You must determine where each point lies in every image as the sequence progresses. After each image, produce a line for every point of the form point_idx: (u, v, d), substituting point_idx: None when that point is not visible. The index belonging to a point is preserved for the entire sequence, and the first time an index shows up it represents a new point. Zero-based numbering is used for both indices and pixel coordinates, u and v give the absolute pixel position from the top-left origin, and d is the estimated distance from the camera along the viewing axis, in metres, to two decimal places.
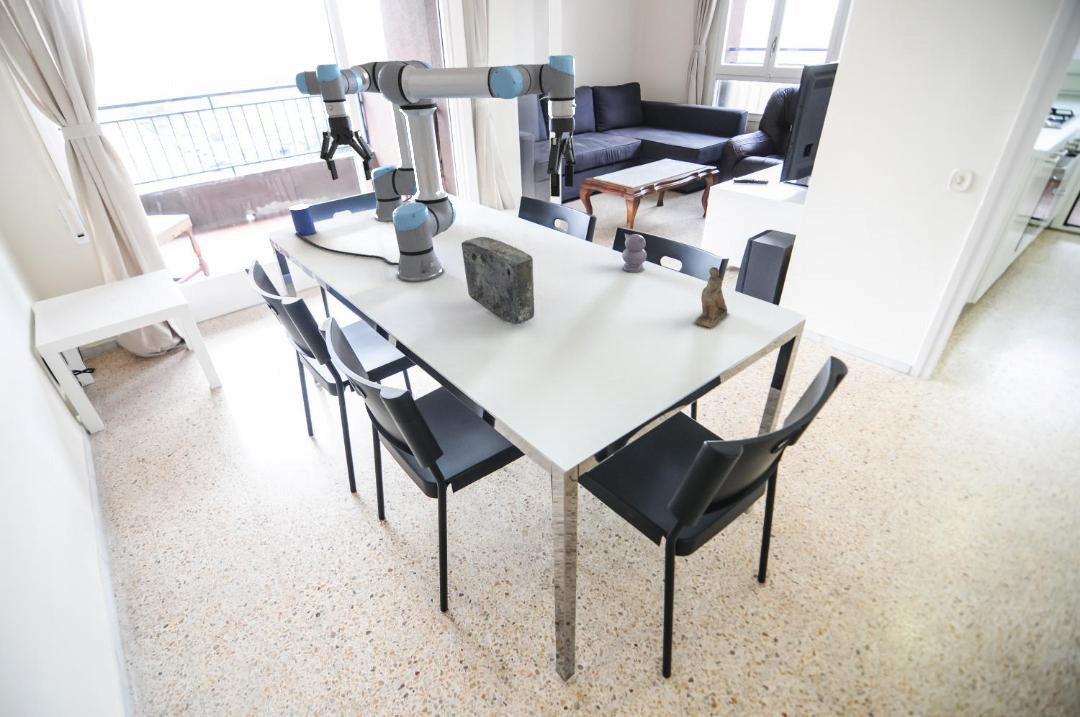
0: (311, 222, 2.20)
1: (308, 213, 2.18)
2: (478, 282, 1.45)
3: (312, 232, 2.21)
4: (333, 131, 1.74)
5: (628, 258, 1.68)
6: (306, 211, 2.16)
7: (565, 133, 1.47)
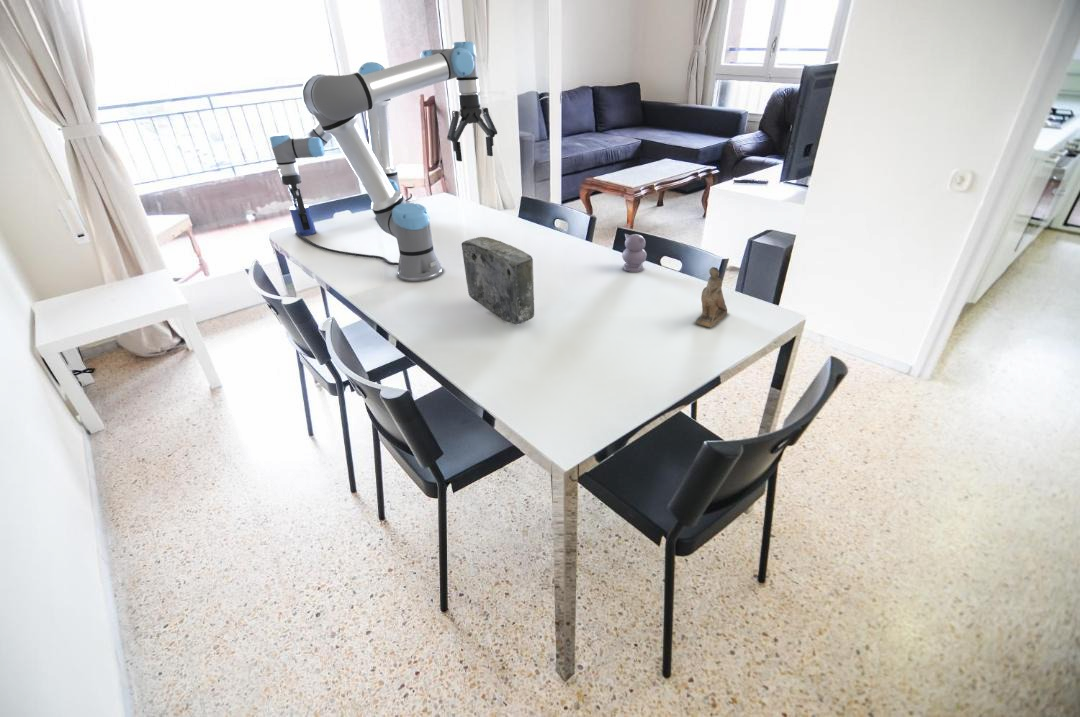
0: (311, 222, 2.20)
1: (308, 213, 2.18)
2: (478, 282, 1.45)
3: (312, 232, 2.21)
4: (289, 185, 2.14)
5: (628, 258, 1.68)
6: (306, 211, 2.16)
7: None
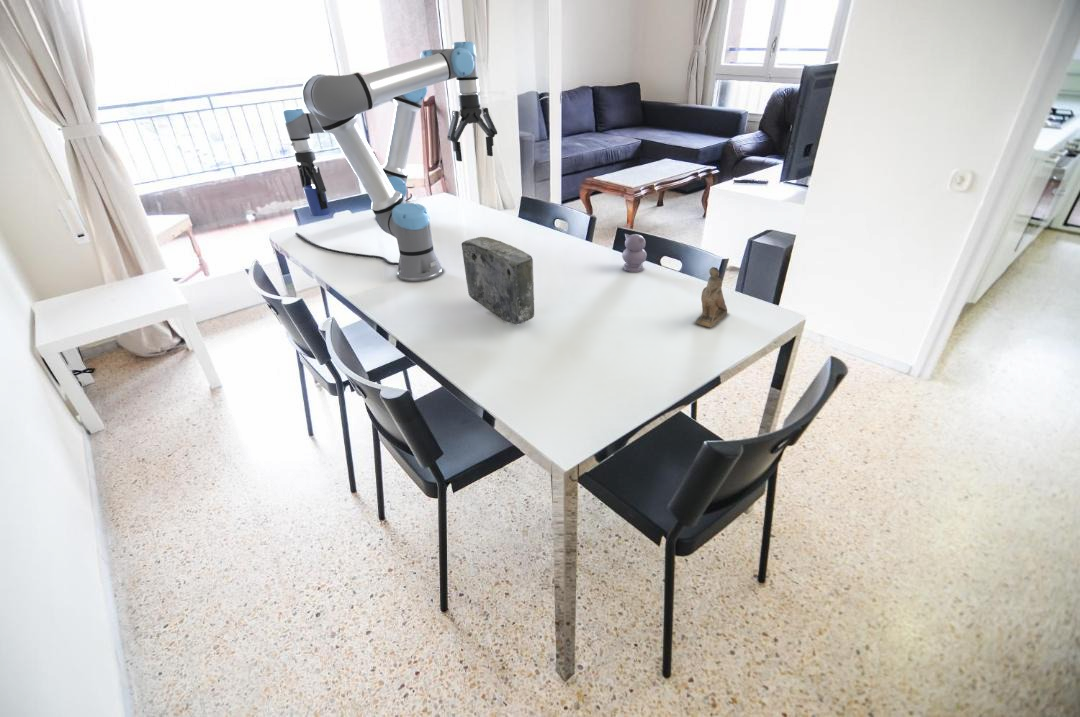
0: (327, 201, 2.13)
1: (324, 192, 2.10)
2: (478, 282, 1.45)
3: (328, 212, 2.14)
4: (301, 163, 2.05)
5: (628, 258, 1.68)
6: None
7: None
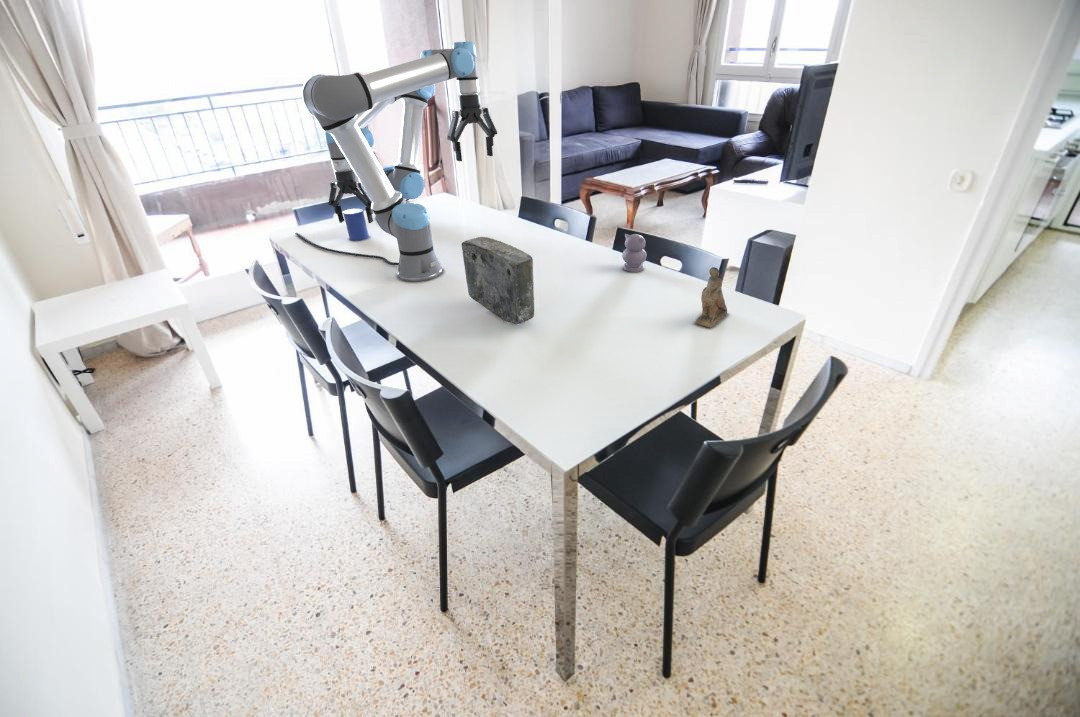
0: None
1: None
2: (478, 282, 1.45)
3: (368, 235, 2.15)
4: (339, 182, 2.02)
5: (628, 258, 1.68)
6: (363, 213, 2.10)
7: None
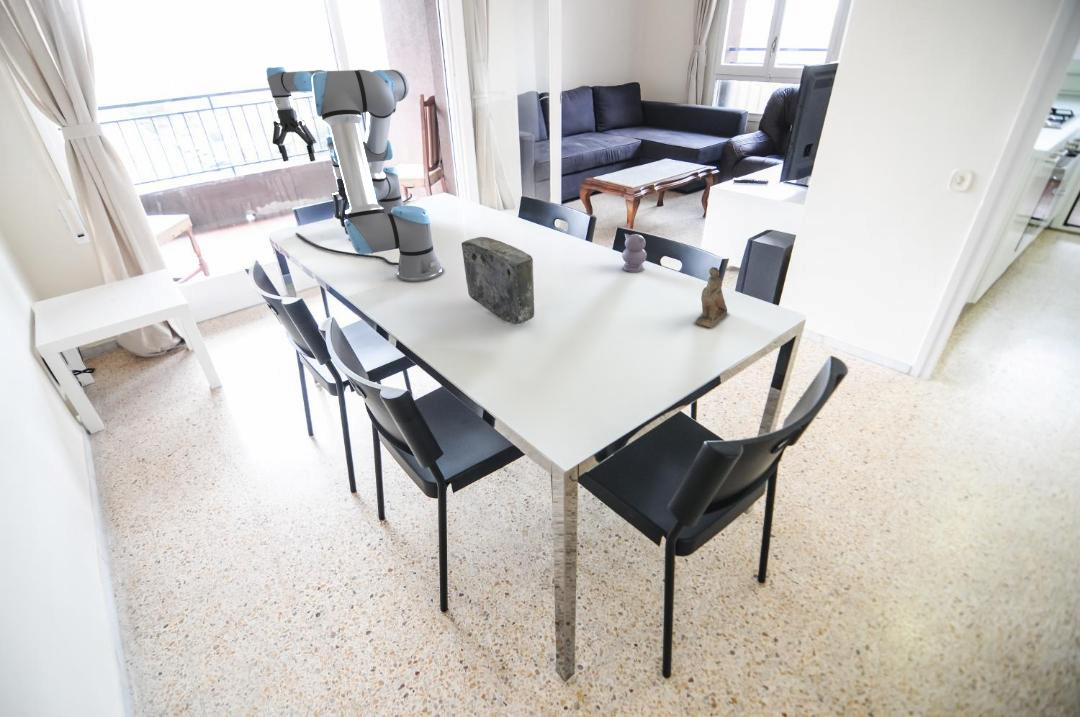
0: None
1: None
2: (478, 282, 1.45)
3: None
4: (282, 121, 2.15)
5: (628, 258, 1.68)
6: None
7: None
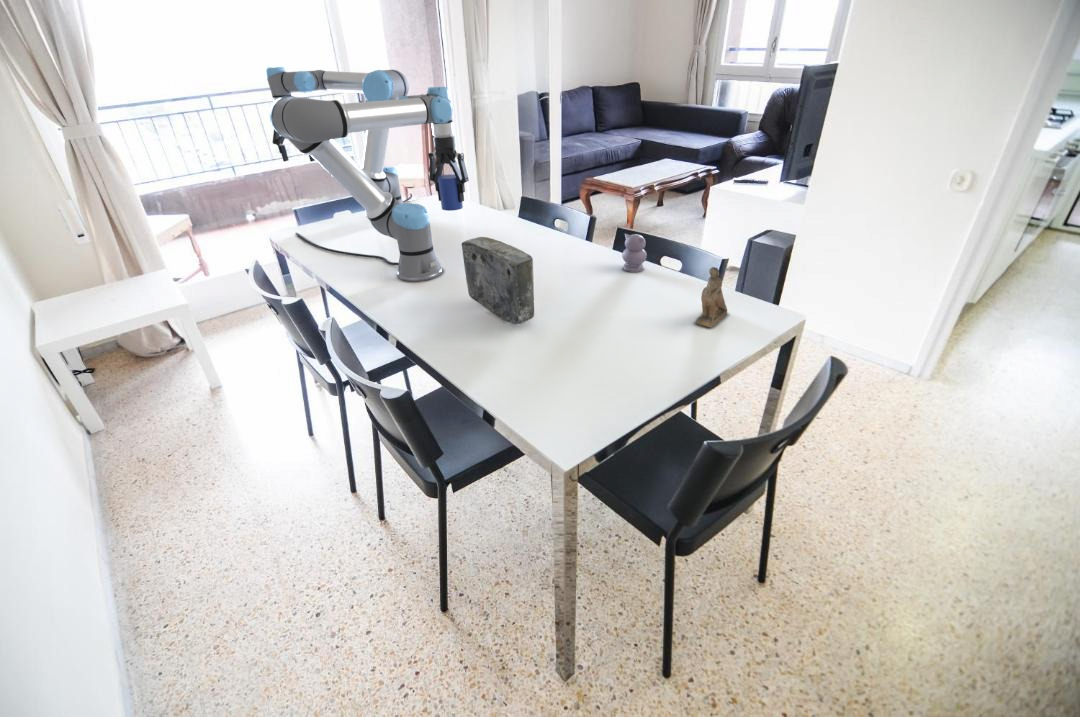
0: None
1: None
2: (478, 282, 1.45)
3: (459, 207, 1.88)
4: None
5: (628, 258, 1.68)
6: (455, 182, 1.83)
7: None
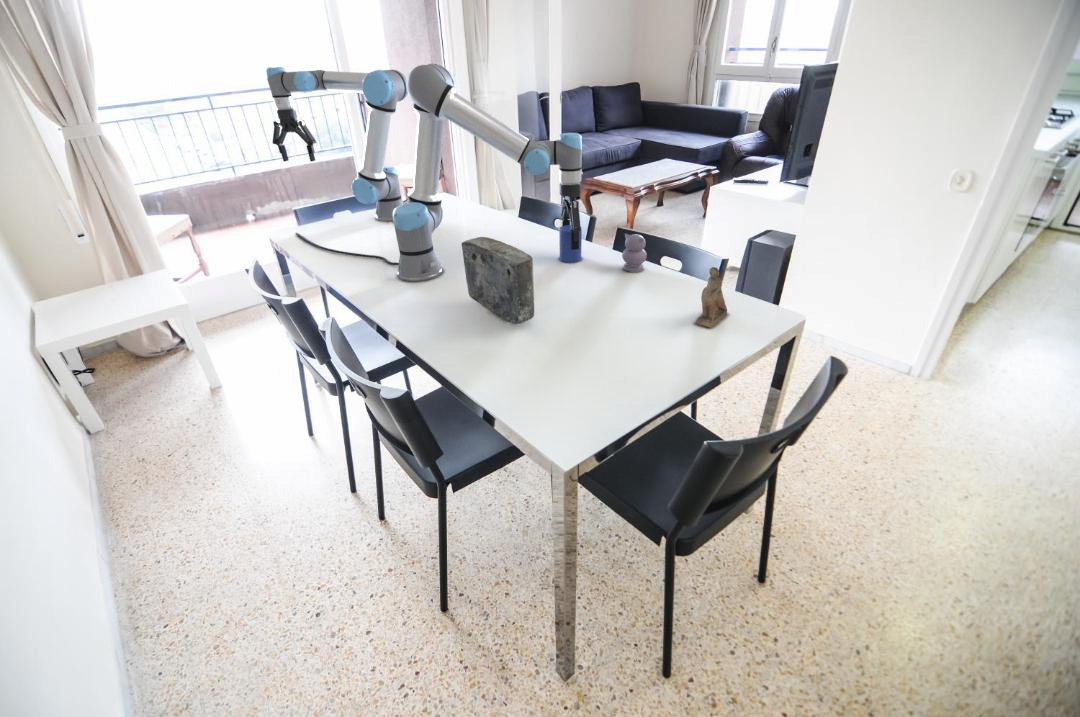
0: None
1: None
2: (478, 282, 1.45)
3: (569, 260, 1.80)
4: (282, 121, 2.15)
5: (628, 258, 1.68)
6: (568, 235, 1.75)
7: None
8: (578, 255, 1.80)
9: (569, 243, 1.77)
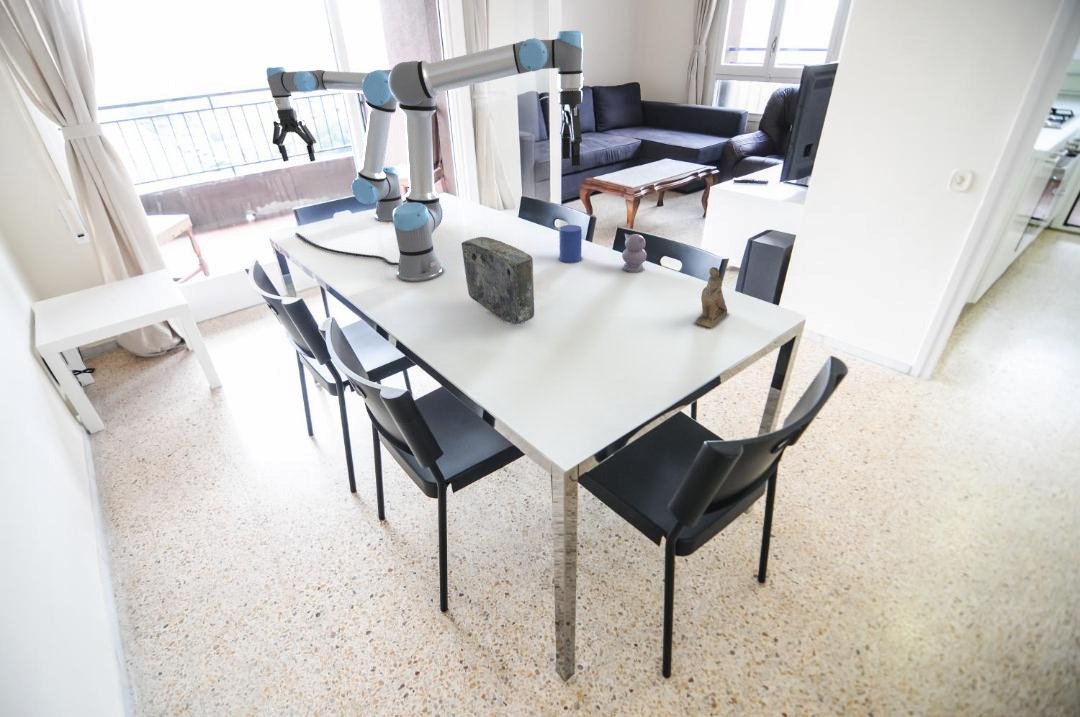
0: (572, 249, 1.78)
1: (571, 238, 1.76)
2: (478, 282, 1.45)
3: (569, 260, 1.80)
4: (282, 121, 2.15)
5: (628, 258, 1.68)
6: (568, 235, 1.75)
7: None
8: (578, 255, 1.80)
9: (569, 243, 1.77)
